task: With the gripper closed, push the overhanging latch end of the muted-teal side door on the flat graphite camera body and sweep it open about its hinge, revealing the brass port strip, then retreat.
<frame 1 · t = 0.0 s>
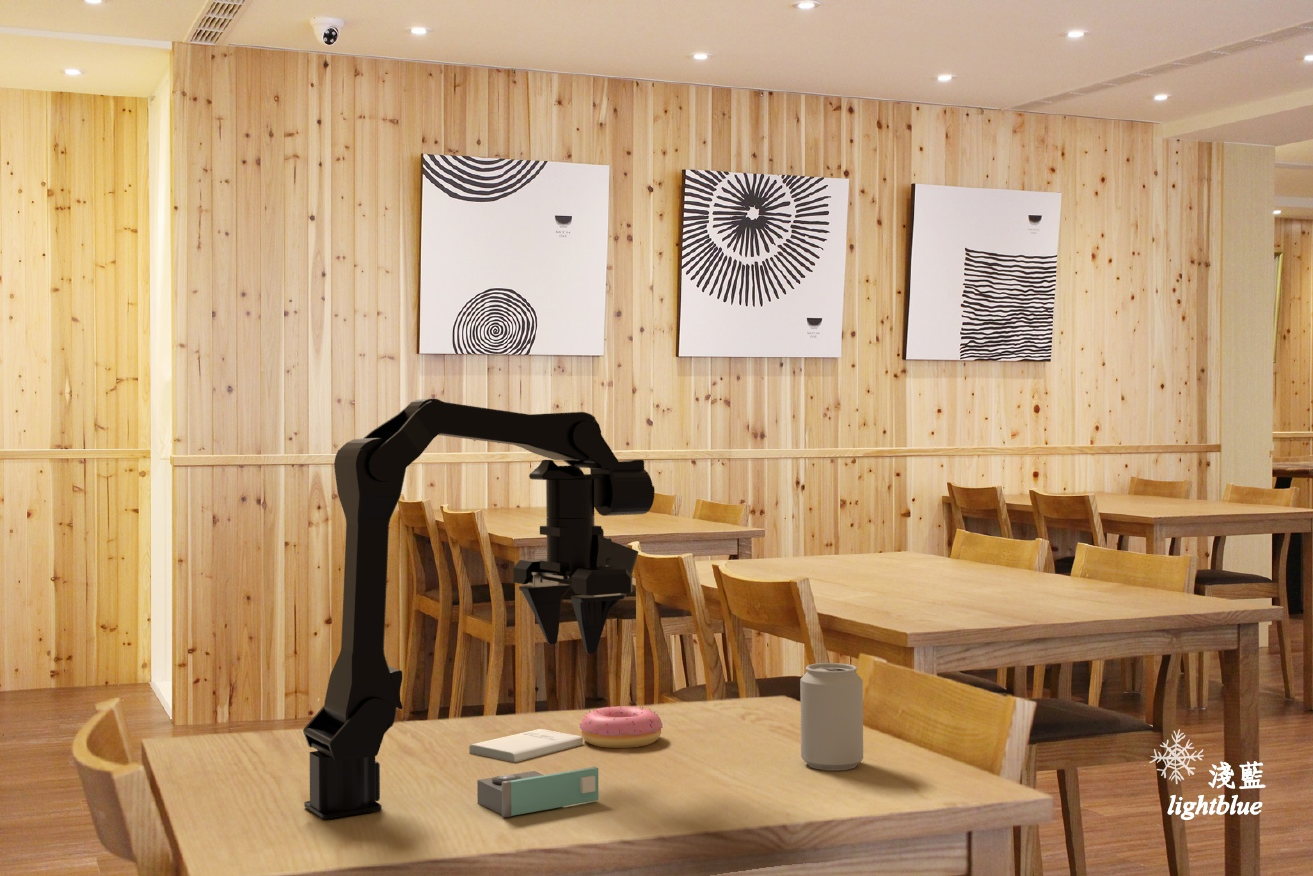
hand: (571, 648, 159), 15 cm above the table, fingers open, 9 cm apart
doughnut: (621, 743, 176), on the table
side door: (551, 791, 142), point 2 cm above the table, hinge at 0.0°
external hard drive: (526, 753, 171), on the table
can: (832, 766, 162), on the table
camera body: (519, 804, 145), on the table
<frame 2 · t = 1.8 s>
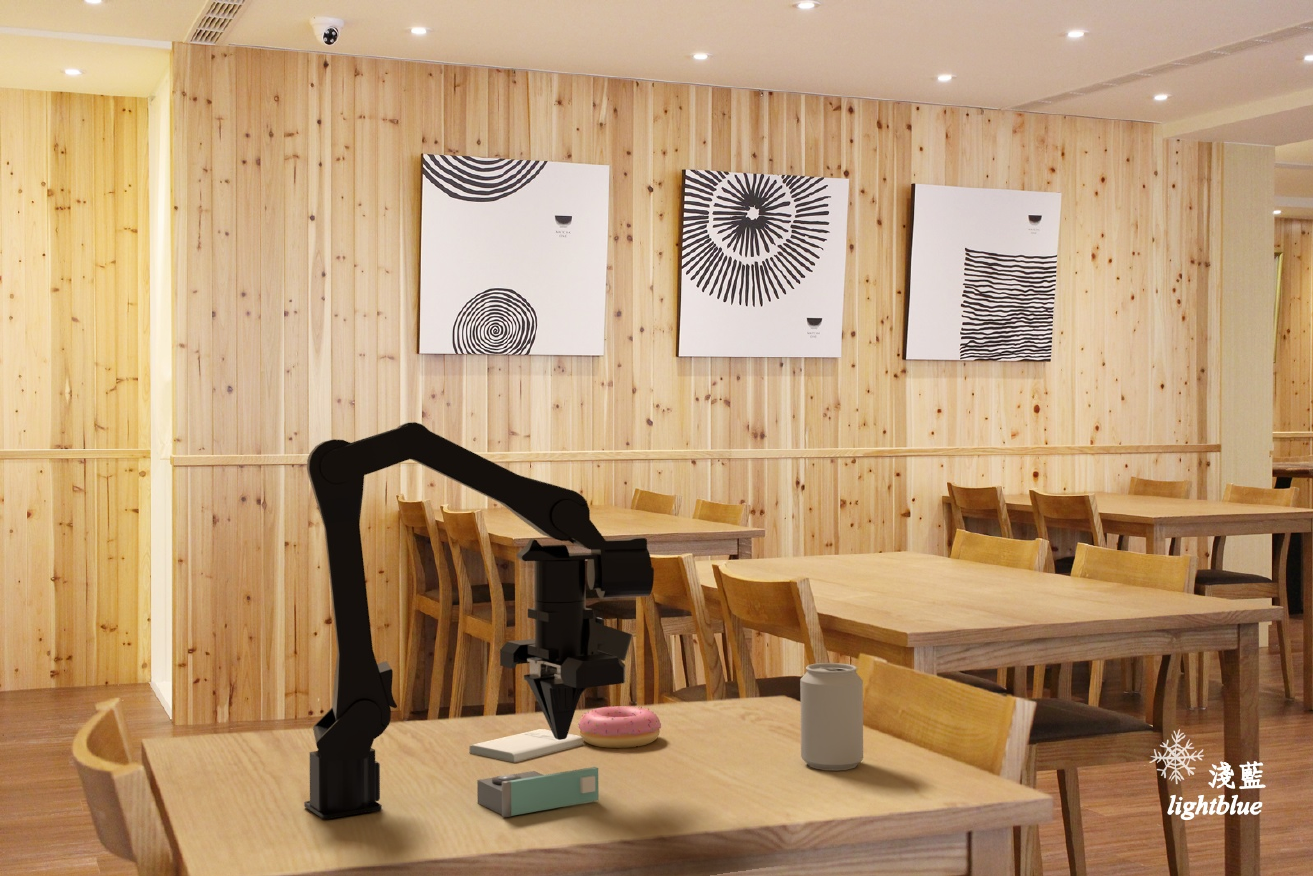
hand: (560, 739, 150), 6 cm above the table, fingers closed
nothing on the table moved.
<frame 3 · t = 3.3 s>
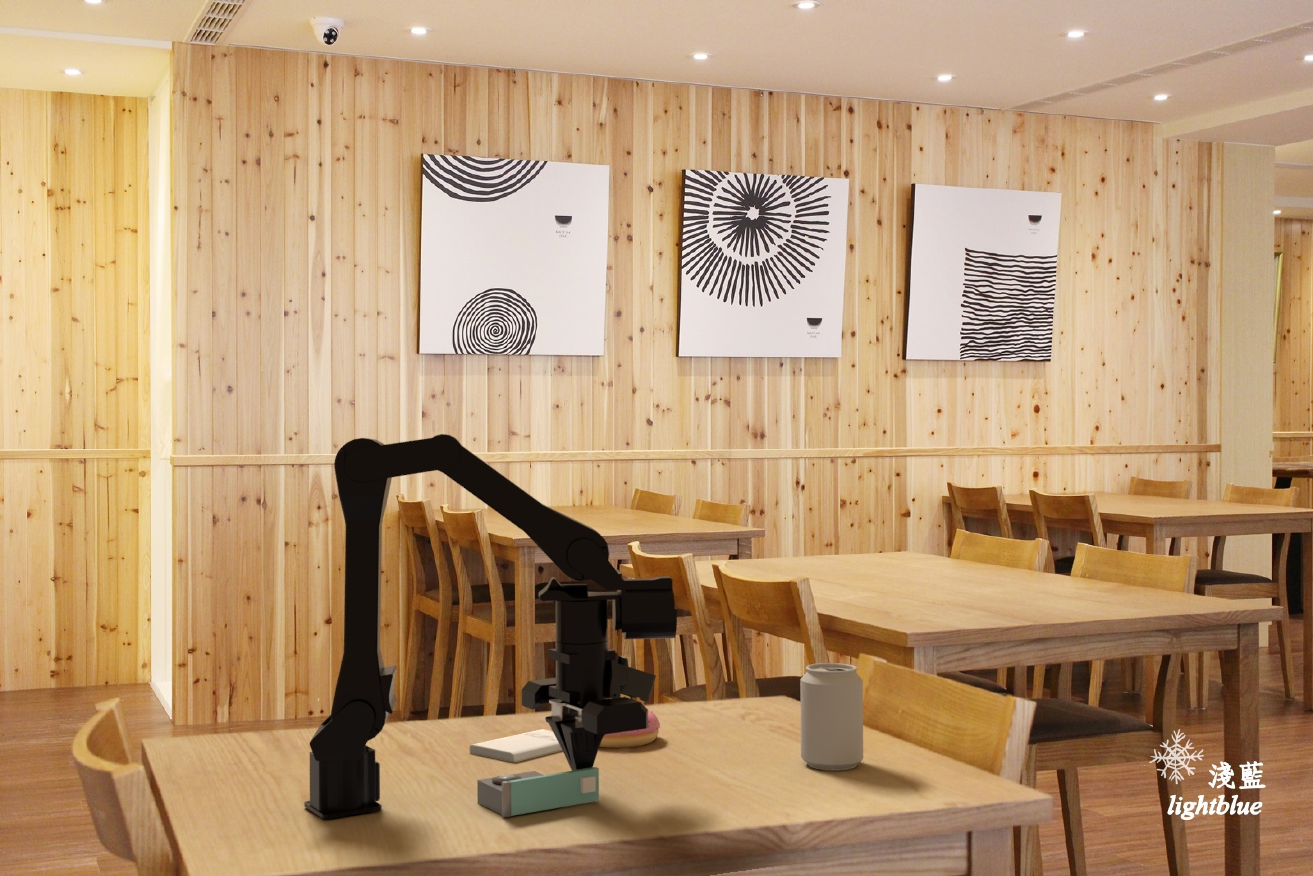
hand: (582, 783, 146), 2 cm above the table, fingers closed
side door: (551, 791, 142), point 2 cm above the table, hinge at 0.5°, touching gripper
everything else where it was.
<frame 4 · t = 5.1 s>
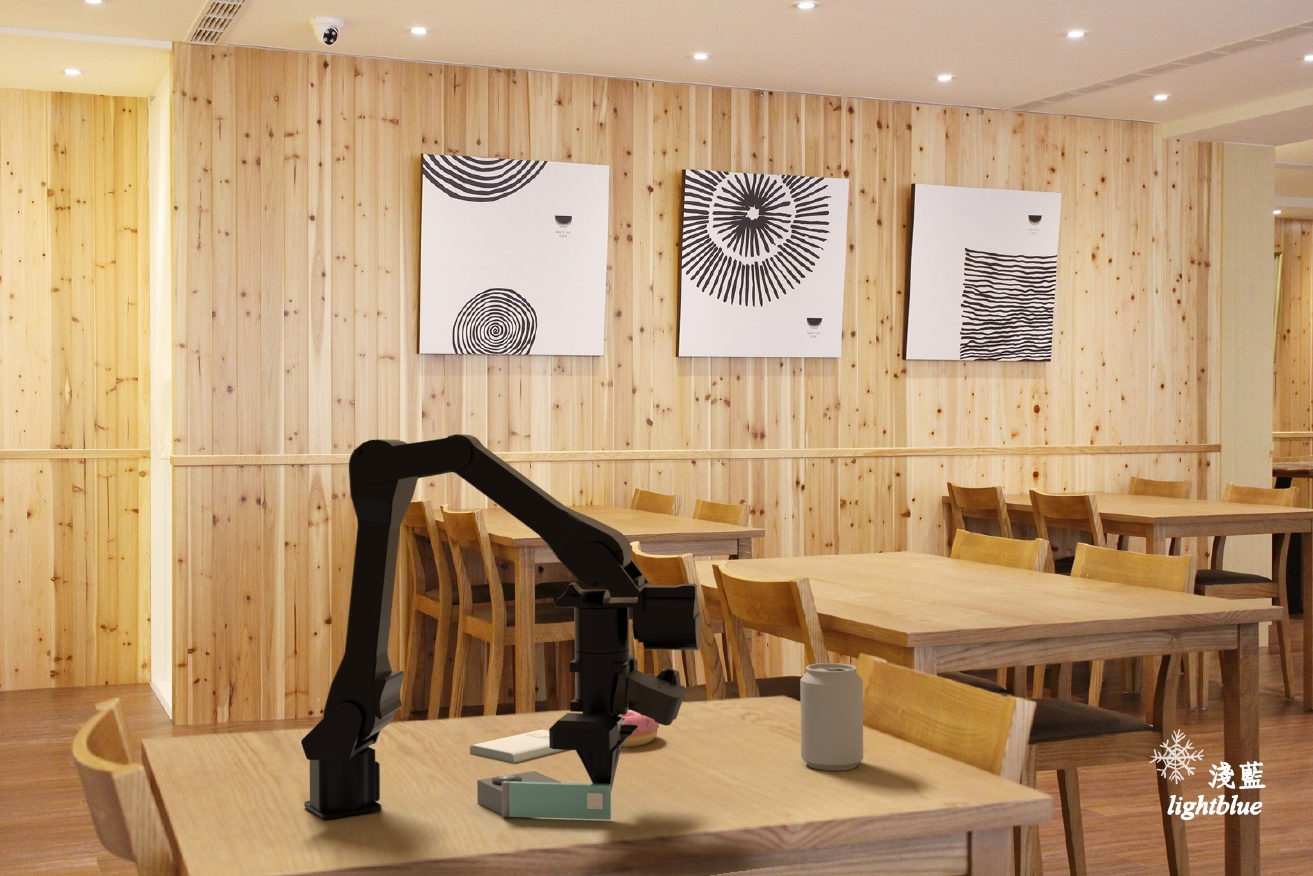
hand: (604, 797, 140), 2 cm above the table, fingers closed
side door: (555, 800, 139), point 2 cm above the table, hinge at 41.4°, touching gripper
everything else where it was.
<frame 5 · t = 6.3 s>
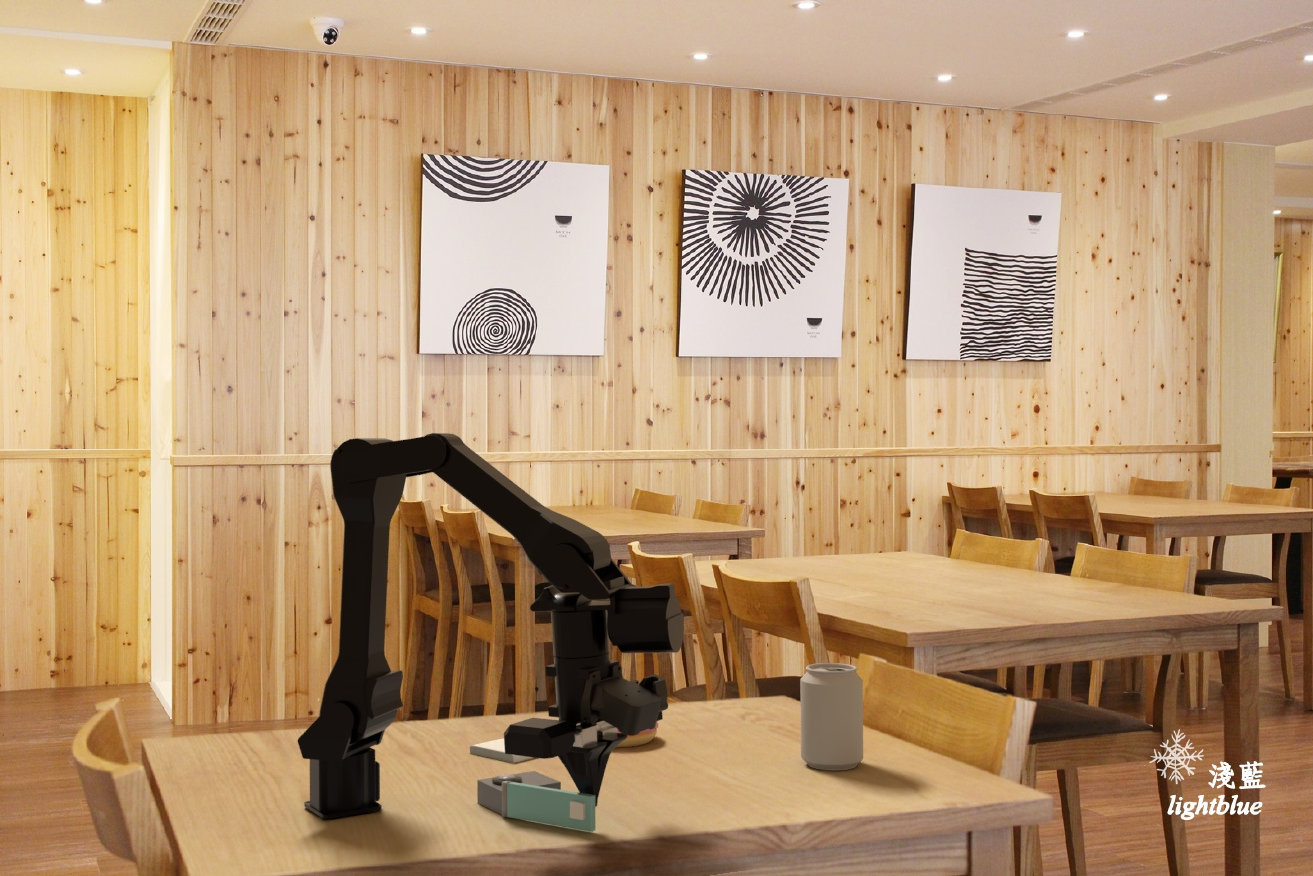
hand: (591, 807, 135), 2 cm above the table, fingers closed
side door: (546, 806, 137), point 2 cm above the table, hinge at 65.6°, touching gripper
everything else where it was.
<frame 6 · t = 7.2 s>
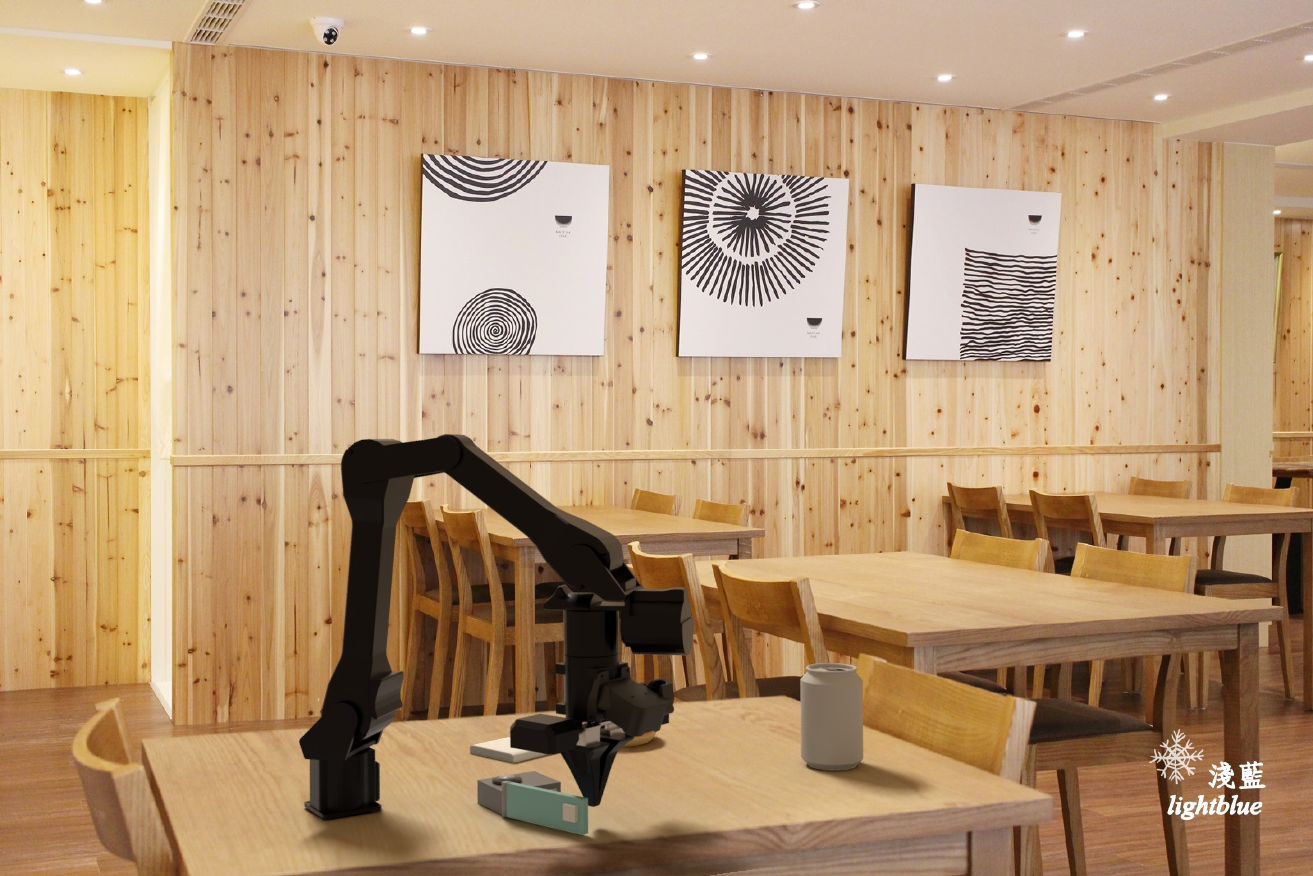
hand: (593, 805, 137), 2 cm above the table, fingers closed
side door: (542, 807, 136), point 2 cm above the table, hinge at 72.1°
everything else where it was.
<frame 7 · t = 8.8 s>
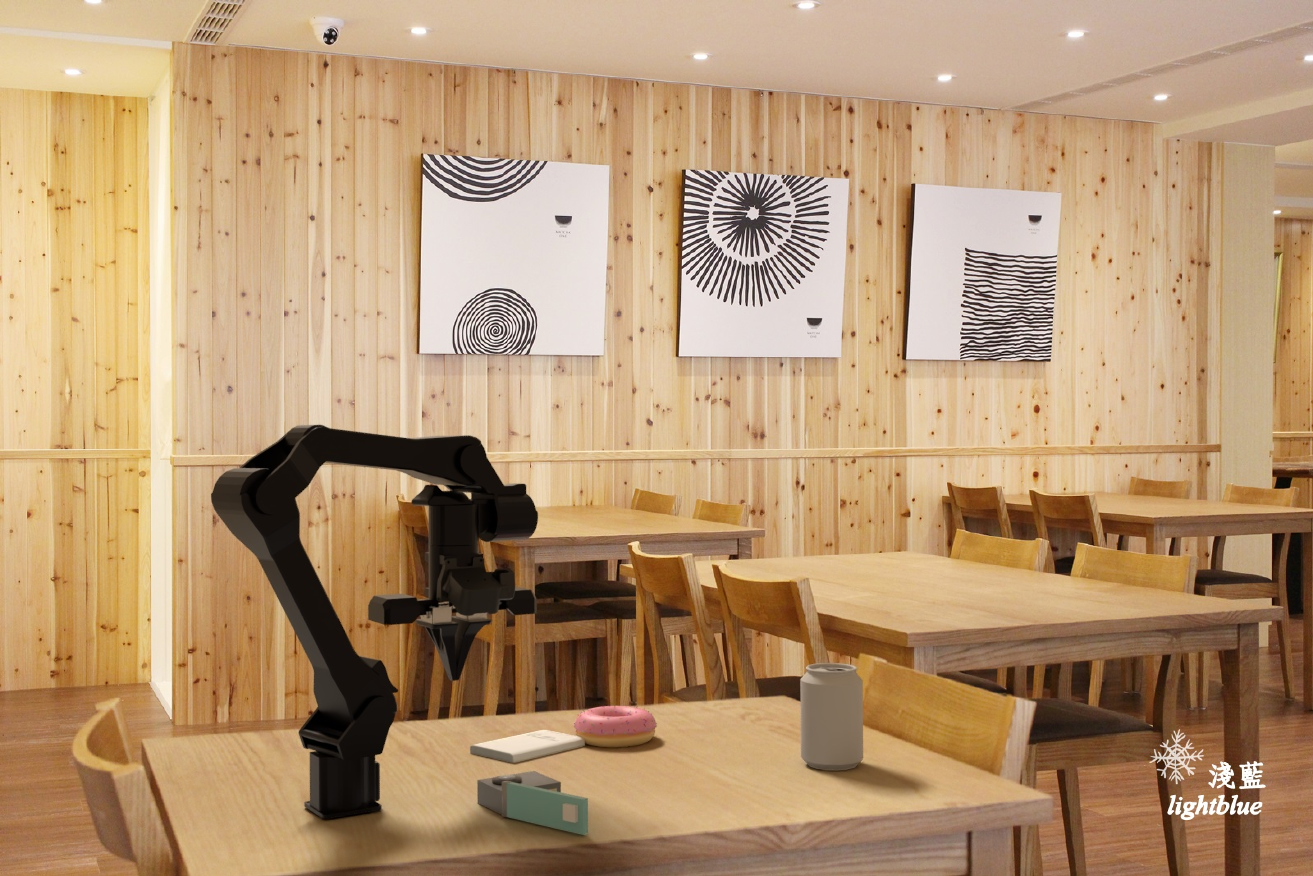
hand: (454, 680, 153), 12 cm above the table, fingers closed
nothing on the table moved.
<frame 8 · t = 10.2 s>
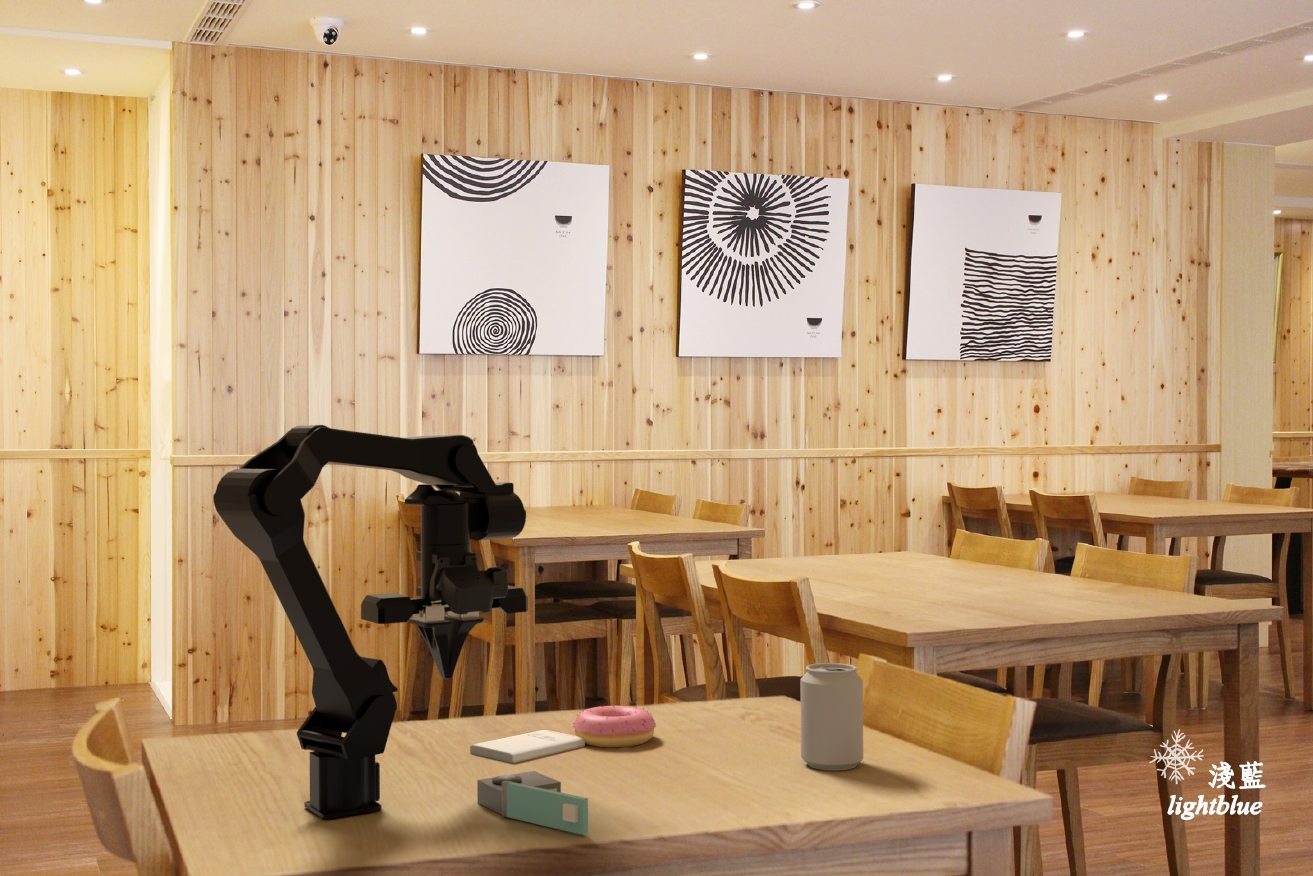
hand: (446, 678, 154), 12 cm above the table, fingers closed
at the end: side door at +72° (first picture: +0°); side door touching nothing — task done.
